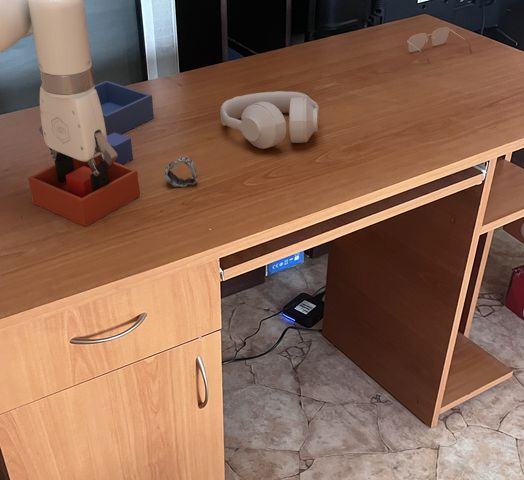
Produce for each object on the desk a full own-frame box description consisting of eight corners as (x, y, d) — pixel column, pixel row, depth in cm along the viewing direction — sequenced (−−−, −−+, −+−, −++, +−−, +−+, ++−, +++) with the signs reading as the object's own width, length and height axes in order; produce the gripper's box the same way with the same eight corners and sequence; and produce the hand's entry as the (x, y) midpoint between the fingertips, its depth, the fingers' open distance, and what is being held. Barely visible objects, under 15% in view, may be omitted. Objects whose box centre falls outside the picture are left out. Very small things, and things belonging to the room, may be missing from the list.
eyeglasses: (448, 42, 186) (451, 25, 183) (472, 54, 182) (476, 37, 179) (404, 53, 180) (407, 36, 177) (428, 67, 176) (431, 49, 173)
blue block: (100, 161, 139) (98, 140, 136) (117, 153, 141) (114, 132, 139) (117, 167, 137) (114, 146, 134) (133, 159, 139) (130, 138, 137)
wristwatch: (183, 187, 135) (162, 167, 132) (204, 170, 132) (183, 150, 129) (181, 197, 132) (159, 178, 130) (202, 181, 130) (180, 161, 127)
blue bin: (63, 123, 151) (59, 100, 148) (109, 102, 158) (106, 80, 155) (109, 140, 145) (106, 116, 142) (154, 118, 153) (151, 95, 150)
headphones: (338, 144, 143) (299, 116, 159) (339, 101, 138) (298, 76, 154) (242, 159, 138) (211, 128, 154) (239, 114, 134) (208, 87, 150)
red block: (69, 197, 128) (65, 175, 125) (87, 187, 130) (83, 165, 128) (86, 204, 126) (82, 182, 123) (104, 194, 128) (101, 172, 126)
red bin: (33, 203, 127) (27, 177, 124) (88, 174, 135) (84, 149, 132) (85, 226, 122) (81, 200, 119) (140, 195, 129) (137, 170, 126)
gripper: (8, 72, 117) (30, 179, 128) (90, 101, 109) (105, 213, 121) (47, 58, 122) (64, 163, 133) (128, 85, 114) (139, 194, 125)
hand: (84, 186), depth 127 cm, fingers open, 7 cm apart
